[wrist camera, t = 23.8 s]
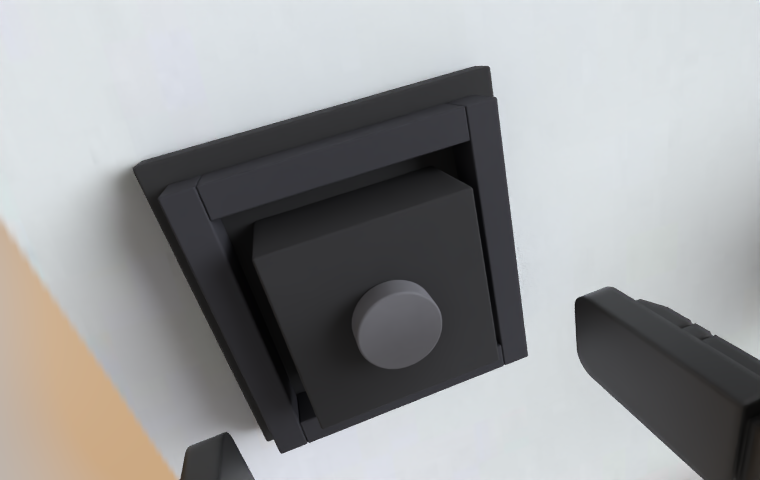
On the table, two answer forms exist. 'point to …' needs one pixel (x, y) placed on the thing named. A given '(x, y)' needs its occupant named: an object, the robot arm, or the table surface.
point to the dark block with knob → (379, 291)
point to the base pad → (319, 182)
